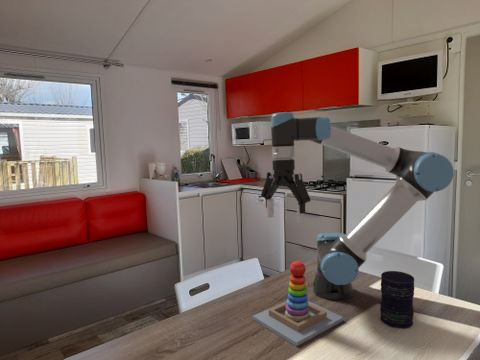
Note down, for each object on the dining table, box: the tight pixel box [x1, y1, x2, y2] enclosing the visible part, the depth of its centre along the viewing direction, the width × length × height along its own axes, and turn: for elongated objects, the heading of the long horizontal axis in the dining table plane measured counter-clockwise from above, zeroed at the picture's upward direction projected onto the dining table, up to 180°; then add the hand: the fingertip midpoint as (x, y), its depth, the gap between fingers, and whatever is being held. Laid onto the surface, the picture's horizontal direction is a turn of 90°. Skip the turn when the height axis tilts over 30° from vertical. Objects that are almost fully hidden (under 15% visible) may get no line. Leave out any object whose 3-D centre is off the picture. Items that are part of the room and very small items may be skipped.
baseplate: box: [252, 300, 344, 347], centre depth 115 cm, size 22×20×3 cm
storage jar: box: [379, 270, 415, 330], centre depth 112 cm, size 10×10×15 cm
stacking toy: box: [285, 260, 310, 322], centre depth 114 cm, size 8×8×19 cm
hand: (284, 219), depth 121 cm, fingers open, 13 cm apart
